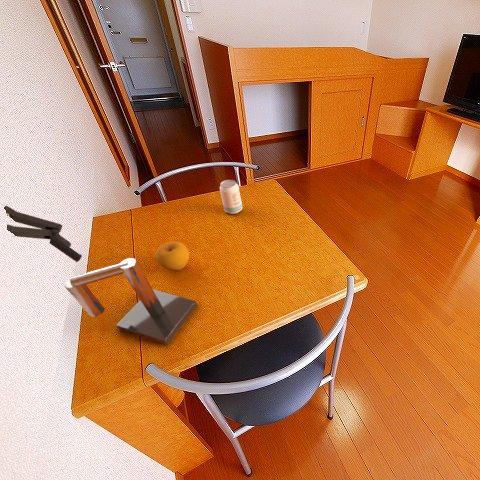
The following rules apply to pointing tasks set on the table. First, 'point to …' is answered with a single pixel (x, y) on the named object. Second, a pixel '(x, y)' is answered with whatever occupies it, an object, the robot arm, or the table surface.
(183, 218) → the table surface
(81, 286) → the spout
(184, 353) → the table surface
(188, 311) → the tap base
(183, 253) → the apple
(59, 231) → the robot arm
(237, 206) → the beverage can
